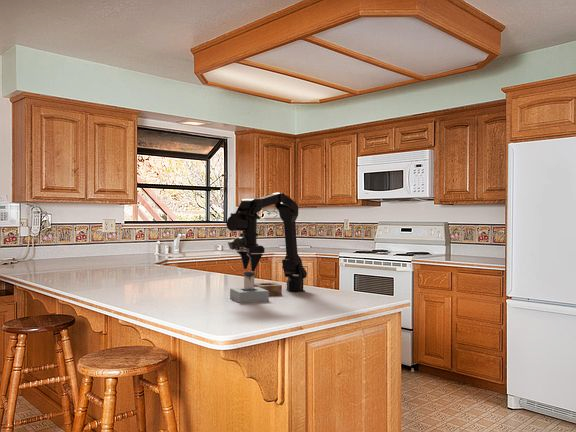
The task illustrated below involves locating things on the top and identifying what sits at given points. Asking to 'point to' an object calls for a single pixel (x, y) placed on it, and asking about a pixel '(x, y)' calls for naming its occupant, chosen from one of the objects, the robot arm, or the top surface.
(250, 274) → the lock pin
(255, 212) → the robot arm
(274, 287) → the pin mount
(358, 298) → the top surface
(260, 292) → the socket block
